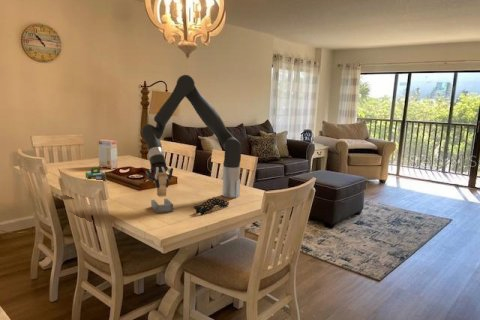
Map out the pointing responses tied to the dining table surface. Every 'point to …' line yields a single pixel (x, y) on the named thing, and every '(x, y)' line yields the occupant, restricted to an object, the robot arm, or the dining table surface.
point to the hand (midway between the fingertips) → (162, 187)
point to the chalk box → (96, 174)
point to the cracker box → (108, 153)
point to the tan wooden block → (161, 184)
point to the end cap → (162, 206)
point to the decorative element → (205, 209)
